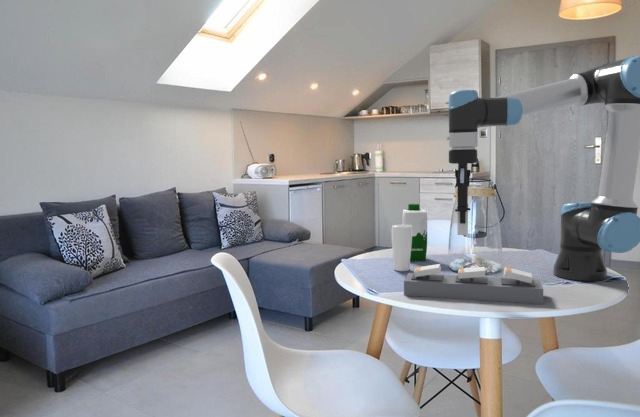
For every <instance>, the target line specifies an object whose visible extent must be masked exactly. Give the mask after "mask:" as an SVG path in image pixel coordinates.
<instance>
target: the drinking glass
mask: <svg viewBox="0 0 640 417" xmlns="http://www.w3.org/2000/svg"><path fill="white" fill-rule="evenodd" d="M411 246H412V226H411V225H404V224H392V226H391V247H392V257H393V269H394V270H395V271H396V272H408V271H410V270H411V261H410V257H411Z"/></svg>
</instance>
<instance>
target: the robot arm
mask: <svg viewBox="0 0 640 417" xmlns="http://www.w3.org/2000/svg"><path fill="white" fill-rule="evenodd" d="M594 104H604V108H606V110H607V111H608V113H609V115H608V122H607V129H606V137H605V145H604V150H603V157H602V158H603V160H602V166H601V173H600V174H601V175H600V179H599V180H600V182H599V187H598V188H599V189H598V194H597V195H598V196H596V198H594V199H593V200H592V201H591V202H569V203H564V204H563V205H562V207H561V214H560V245H559V246H560V247H559V252H558V254H557V257H556V259H555V262H554V265H553V275H554V276H557V277H559V278H562V279H567V280H573V281H582V282H583V281H584V282H596V281H604V280H606V279H607V278H608V275H607V274H608V269H607V265H606V263H605V259H604V256H603V254H602V253H603V252H602V251H605V252H606V253H607V252H609V253H615V254H622V253H623V254H624V253H627V252H631V251H632V250H633V249H634V248H637V246H638V245H639V244H640V216H638V209H639V206H638V205H637V204H636V202H634V200H633V199H634V191H635V186H636V185H635V184H636V178H637V170H638V163H639V156H640V55H636V56H635V55H634V56H633V55H632V56H629V57H627V58H623V59H620V60H614V61H610V62H606V63H604V64H601V65H599V66H596V67H593V68H591V69H588V70H585V71H582V72H579V73H575V74H572V75H571V76H570V77H569V78H568V79H564V80H561V81H557V82H556V81H555V82H554V83H553V82H552V83H548V84H544V85H540V86H536V87H531V88H528V89H523V90H519V91H516V92H512V93H508V94H504V95H499V96H496V97H479V94H478V91H477V90H475V89H461V90H460V89H459V90H454V91H452V92H451V93H450V94H449V96H448V108H447V109H448V135H449V136H447V137H446V141H448V147H449V148H450V149H449V151H448V163H449V164H455V165H457V168H458V169H455V170H454V177H455V186H456V187H457V207H456V208H455V210H454V211H455V212H457V236H468V234H469V211H471V208H470V207H469V204H468V203H469V202H468V201H469V200H468V196H469V193H468V192H469V186H470V179H471V178H470V177H471V169H468V164H477V162H478V150H477V149H476V148H477V147H478V146H479V144H478V142H479V140H478V138H479V137H478V134H479V132H478V128H489V127H500V126H506V127H508V126H516V125H518V124H519V123H520V122H521V119H522V118H524V117H528V116H531V115H535V114H540V113H543V112H547V111H548V112H549V111H553V110H556V109H560V108H564V107H568V106H573V105H574V106H576V107H582V106H585V105H594Z"/></svg>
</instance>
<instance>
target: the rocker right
mask: <svg viewBox="0 0 640 417" xmlns="http://www.w3.org/2000/svg"><path fill="white" fill-rule="evenodd" d="M503 278H512V279H516V280H520V281H524V282H528V283H532V279H533V278H534V277H533V274H532V272H527V271H524V270H520V269H516V268H512V267H508V266H504V269H503Z"/></svg>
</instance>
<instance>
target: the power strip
mask: <svg viewBox="0 0 640 417" xmlns="http://www.w3.org/2000/svg"><path fill="white" fill-rule="evenodd" d="M403 296H413V297H415V296H416V297H428V298H429V297H430V298H444V299H445V298H447V299H461V300H474V301H493V302H504V303H505V302H507V303H518V304H519V303H521V304H537V305H544V286H543V284H542V282H541V280H540V279H532V283H528V282H524V281H520V280H516V279H512V278H508V277H498V276H497V277H496V276H495V277H493V276H485V277H473V278H460V279H459V277H458V275H456V274H440V273H438V274H432V275H425V276H419V277H415V274H414V272H408V274H407V275H406V277H405V279H404V280H403Z"/></svg>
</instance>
